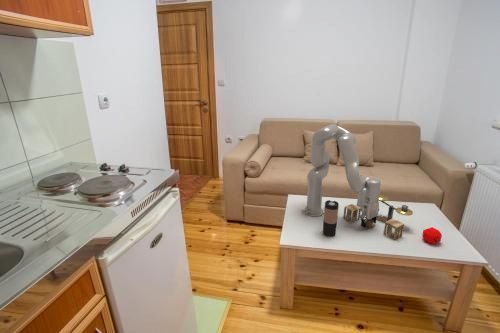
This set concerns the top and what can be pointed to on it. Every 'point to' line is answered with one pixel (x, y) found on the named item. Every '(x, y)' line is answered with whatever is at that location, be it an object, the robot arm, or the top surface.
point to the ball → (431, 235)
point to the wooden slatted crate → (350, 213)
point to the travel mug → (330, 218)
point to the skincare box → (361, 198)
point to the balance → (400, 210)
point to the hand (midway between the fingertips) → (368, 224)
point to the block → (369, 223)
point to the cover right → (395, 224)
